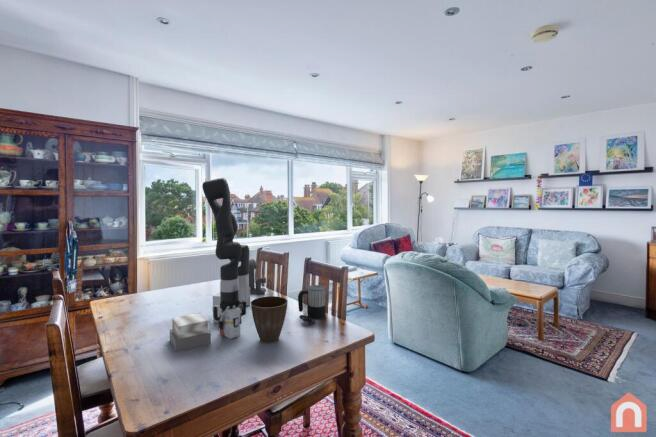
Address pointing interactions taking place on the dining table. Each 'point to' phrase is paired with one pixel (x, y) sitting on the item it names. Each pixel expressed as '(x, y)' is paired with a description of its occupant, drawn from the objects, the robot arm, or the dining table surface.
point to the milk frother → (313, 303)
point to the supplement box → (216, 303)
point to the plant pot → (269, 317)
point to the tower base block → (189, 341)
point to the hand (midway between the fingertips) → (230, 327)
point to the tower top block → (189, 325)
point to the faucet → (252, 281)
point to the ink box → (231, 323)
